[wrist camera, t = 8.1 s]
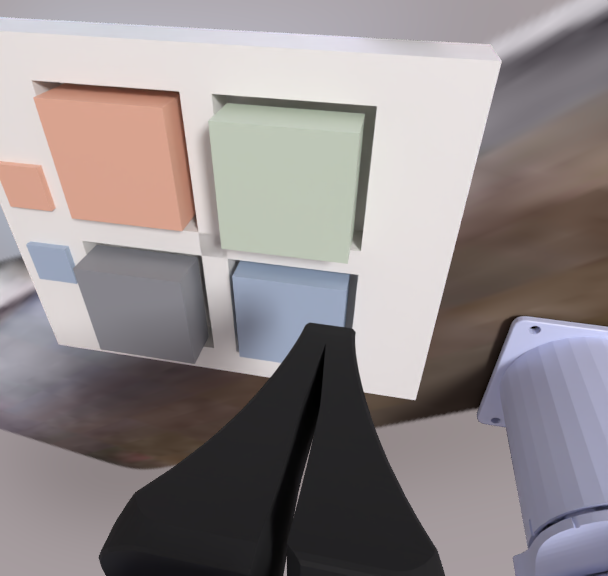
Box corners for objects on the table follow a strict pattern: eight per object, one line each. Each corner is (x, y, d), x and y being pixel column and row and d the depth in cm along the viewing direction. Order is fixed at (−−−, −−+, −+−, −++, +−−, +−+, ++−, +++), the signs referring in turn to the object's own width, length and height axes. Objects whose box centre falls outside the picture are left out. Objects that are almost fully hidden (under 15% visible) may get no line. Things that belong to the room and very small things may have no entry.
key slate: (351, 264, 21) (346, 290, 20) (343, 343, 24) (338, 371, 23) (245, 251, 22) (232, 276, 21) (250, 329, 25) (239, 356, 24)
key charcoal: (197, 257, 22) (180, 282, 20) (208, 336, 25) (194, 364, 23) (96, 244, 22) (72, 268, 21) (119, 323, 25) (100, 349, 24)
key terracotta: (184, 92, 18) (162, 107, 16) (199, 208, 21) (182, 231, 20) (64, 83, 19) (33, 97, 17) (96, 197, 22) (71, 218, 20)
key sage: (364, 113, 16) (359, 133, 15) (353, 236, 19) (347, 263, 18) (226, 102, 17) (208, 120, 16) (236, 223, 20) (221, 248, 19)
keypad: (490, 44, 16) (503, 63, 14) (415, 363, 26) (415, 404, 24) (-22, 15, 19) (-81, 27, 17) (83, 315, 29) (55, 348, 27)
